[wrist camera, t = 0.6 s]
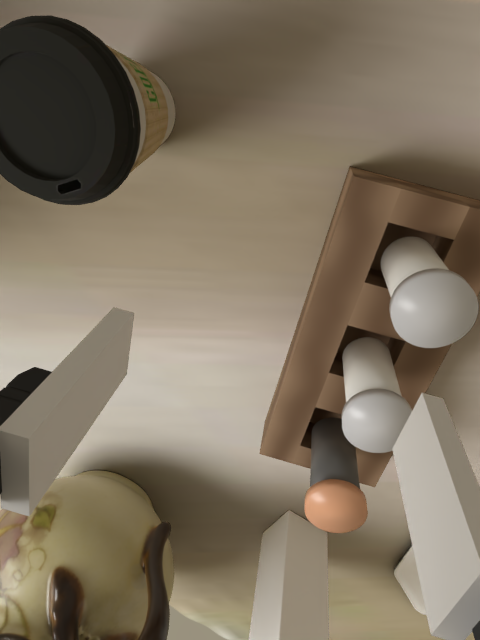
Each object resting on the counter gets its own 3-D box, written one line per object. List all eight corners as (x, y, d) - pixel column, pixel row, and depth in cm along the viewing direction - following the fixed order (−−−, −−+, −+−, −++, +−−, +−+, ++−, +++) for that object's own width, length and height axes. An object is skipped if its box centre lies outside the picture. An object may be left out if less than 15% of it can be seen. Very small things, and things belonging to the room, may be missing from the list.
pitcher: (23, 524, 65) (-125, 745, 43) (43, 406, 54) (-143, 621, 32) (167, 576, 66) (94, 821, 44) (216, 470, 55) (151, 725, 33)
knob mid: (330, 372, 40) (332, 441, 32) (348, 326, 37) (356, 389, 29) (382, 387, 39) (398, 460, 32) (404, 342, 37) (427, 409, 29)
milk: (288, 508, 55) (272, 732, 36) (328, 532, 56) (333, 764, 37) (261, 533, 58) (232, 753, 39) (299, 555, 59) (289, 782, 39)
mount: (264, 421, 50) (259, 453, 45) (349, 166, 36) (353, 176, 32) (369, 452, 49) (374, 487, 45) (494, 204, 36) (518, 219, 32)
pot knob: (301, 445, 44) (297, 522, 36) (315, 408, 42) (315, 482, 34) (348, 458, 44) (355, 539, 36) (366, 422, 41) (376, 500, 34)
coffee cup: (172, 21, 34) (79, -25, 21) (212, 154, 38) (155, 186, 25) (63, 65, 36) (-82, 49, 23) (111, 185, 40) (9, 229, 27)
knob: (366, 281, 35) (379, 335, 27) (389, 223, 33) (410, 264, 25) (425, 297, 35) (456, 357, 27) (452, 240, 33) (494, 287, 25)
